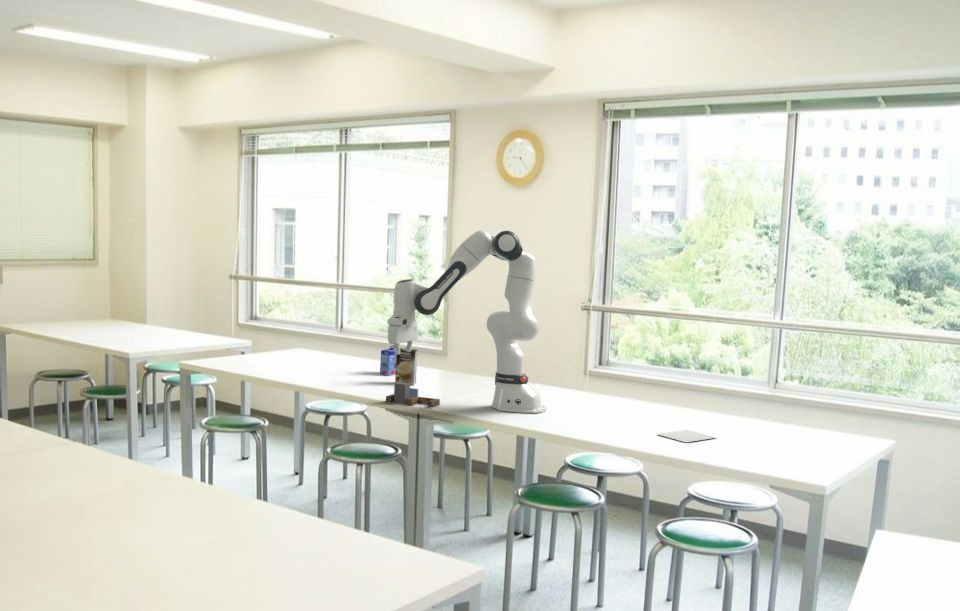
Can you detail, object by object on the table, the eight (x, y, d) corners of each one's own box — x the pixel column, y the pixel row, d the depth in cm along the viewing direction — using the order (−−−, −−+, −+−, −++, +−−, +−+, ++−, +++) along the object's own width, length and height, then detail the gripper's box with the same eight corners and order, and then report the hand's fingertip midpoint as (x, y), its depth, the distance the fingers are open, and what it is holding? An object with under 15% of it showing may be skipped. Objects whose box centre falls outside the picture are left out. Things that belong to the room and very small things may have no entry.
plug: (409, 402, 355) (410, 383, 354) (404, 404, 351) (405, 384, 350) (398, 401, 357) (399, 382, 356) (393, 402, 353) (394, 383, 352)
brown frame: (443, 403, 355) (443, 391, 354) (432, 408, 345) (432, 395, 345) (397, 398, 362) (398, 386, 362) (385, 402, 353) (386, 390, 352)
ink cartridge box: (388, 376, 418) (389, 346, 417) (379, 374, 421) (380, 345, 420) (399, 373, 427) (400, 344, 426) (390, 372, 430) (391, 343, 429)
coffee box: (394, 384, 396) (395, 349, 395) (397, 382, 402) (398, 348, 401) (414, 385, 395) (415, 350, 394) (416, 383, 401) (417, 349, 400)
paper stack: (738, 445, 304) (738, 443, 304) (690, 452, 289) (691, 450, 289) (687, 431, 323) (687, 429, 323) (640, 438, 308) (640, 436, 308)
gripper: (408, 316, 362) (407, 349, 363) (385, 320, 343) (384, 355, 344) (422, 317, 359) (421, 350, 360) (399, 321, 340) (398, 356, 341)
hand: (403, 352), depth 352 cm, fingers open, 8 cm apart
